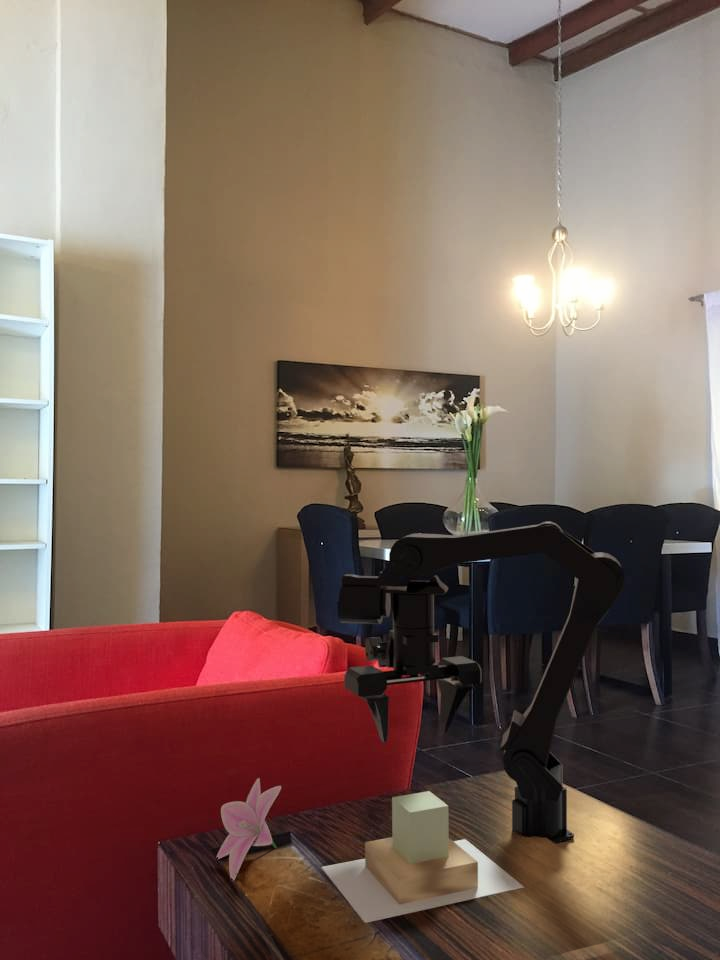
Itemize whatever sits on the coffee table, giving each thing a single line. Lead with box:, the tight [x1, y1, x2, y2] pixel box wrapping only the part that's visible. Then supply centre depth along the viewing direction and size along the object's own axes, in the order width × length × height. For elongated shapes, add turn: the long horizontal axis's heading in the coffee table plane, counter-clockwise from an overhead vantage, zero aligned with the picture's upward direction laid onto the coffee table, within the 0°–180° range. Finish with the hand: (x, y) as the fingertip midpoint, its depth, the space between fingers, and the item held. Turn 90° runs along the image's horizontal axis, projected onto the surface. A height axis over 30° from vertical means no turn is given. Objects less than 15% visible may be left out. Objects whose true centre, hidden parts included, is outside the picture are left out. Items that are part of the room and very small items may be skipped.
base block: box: [364, 836, 478, 905], centre depth 104 cm, size 10×10×3 cm
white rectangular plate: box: [320, 838, 525, 924], centre depth 104 cm, size 20×14×1 cm
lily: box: [216, 777, 282, 882], centre depth 110 cm, size 12×12×10 cm
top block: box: [391, 790, 450, 864], centre depth 104 cm, size 5×5×6 cm
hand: (414, 737), depth 121 cm, fingers open, 9 cm apart
